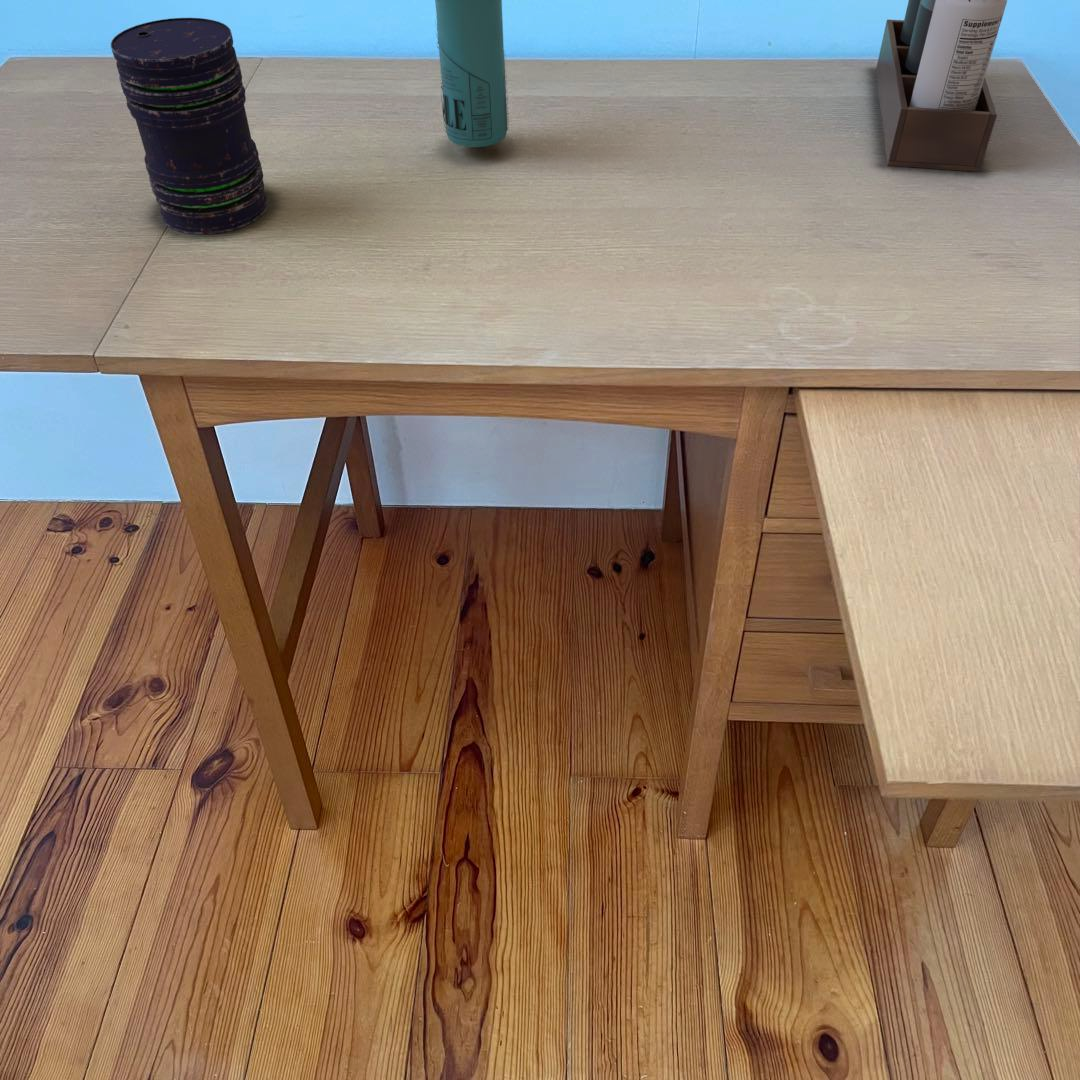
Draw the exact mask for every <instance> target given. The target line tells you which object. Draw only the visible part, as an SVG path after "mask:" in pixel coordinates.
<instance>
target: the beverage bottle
mask: <svg viewBox="0 0 1080 1080" xmlns="http://www.w3.org/2000/svg"><path fill="white" fill-rule="evenodd" d="M434 1H435V2H434V3H435V14H436V17H435V19H436V22H435V27H436V33H435V34H436V38H437V42H436V46H437V48H438V51H439V52H438V54H439V64H440V65H439V67H440V76H441V78H440V79H441V82H440V84H441V86H440V88H441V92H442V94H440V97H441V99H442V103H441V109H442V118H443V123H444V128H443V130H444V131H445V133H446V136H447V138H448V139H449V141H450V142H451V143H453V144H455V145H458V146H462V147H468V148H482V147H488V146H493V145H496V144H498V143H500V142H502V141H503V140H504V139H505V138H506V136H507V132H508V130H509V128H510V127H509V125H508V123H509V122H510V119H509V118H510V117H509V106H508V104H509V102H508V101H509V93H508V92H507V91H508V88H507V86H508V80H507V74H506V73H507V71H508V70H507V69H506V57H507V56H506V54H505V49H504V48H505V45H504V24H503V20H504V19H503V0H434Z"/></svg>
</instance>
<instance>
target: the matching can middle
mask: <svg viewBox="0 0 1080 1080" xmlns="http://www.w3.org/2000/svg"><path fill="white" fill-rule="evenodd" d="M935 1H936V0H921V1H920V5H919V9H918V13H917V17H916V22H915V26H914V30H913V34H912V38H911V43H910V47H909V51H908V55H907V59H906V64H905V69H904V73H903V75H917V74H918V70H919V66H920V62H921V58H922V54H923V50H924V46H925V42H926V38H927V34H928V30H929V25H930V21H931V17H932V13H933V9H934V5H935Z"/></svg>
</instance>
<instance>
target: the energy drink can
mask: <svg viewBox="0 0 1080 1080" xmlns="http://www.w3.org/2000/svg"><path fill="white" fill-rule="evenodd" d="M1007 3H1008V0H936V1H935V5H934V9H933V13H932V17H931V21H930V25H929V30H928V34H927V38H926V42H925V46H924V50H923V54H922V58H921V62H920V66H919V70H918V74H917V78H916V82H915V86H914V90H913V94H912V98H911V102H910V106H909V107H917V108H933V109H949V110H965V111H975V108H976V105H977V102H978V98H979V95H980V91H981V88H982V85H983V81H984V78H985V79H986V74H987V71H988V68H989V64H990V61H991V58H992V55H993V51H994V48H995V44H996V40H997V37H998V34H999V31H1000V27H1001V23H1002V20H1003V17H1004V13H1005V10H1006V7H1007Z"/></svg>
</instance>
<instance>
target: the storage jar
mask: <svg viewBox="0 0 1080 1080" xmlns="http://www.w3.org/2000/svg"><path fill="white" fill-rule="evenodd" d="M233 38H234V37H233V34H232V30H231V28H230V27H229V26H228V25H226V24H225V23H224V22H220V21H218V20H214V19H209V18H201V17H173V18H172V17H171V18H163V19H158V20H152V21H148V22H144V23H139V24H136V25H134V26H131V27H129V28H127V29H125V30H123V31H121V32H119V33H117V34H116V35H115V36H114V37H113V38H112V39H111V42H110V48H111V52H112V56H113V57H114V59H115V61H116V68H117V72H118V75H119V76H118V77H119V78H118V79H119V83H120V86H121V90H122V94H123V95H124V96H125V100H126V107H127V109H128V110H129V113H130V115H131V117H132V118H133V119H134V120H135V123H136V126H137V129H138V132H139V136H140V140H141V143H142V147H143V149H144V153H145V155H144V163H145V169H146V171H147V175H148V181H149V184H150V186H151V190H152V193H153V195H154V196H155V199H156V202H157V204H158V206H159V207H160V209H159V212H160V216H161V220H162V221H163V223H164V224H165V225H166V227H169V228H170V229H172V230H174V231H176V232H180V233H183V234H184V233H185V234H190V235H213V234H215V235H216V234H220V233H221V234H222V233H227V232H231V231H234V230H239V229H241V228H243V227H245V226H248V225H250V224H252V223H254V222H255V221H257V220H258V219H259V218H260V217H262V216H263V215H264V213H265V212H266V211H267V208H268V207H269V202H268V201H269V200H268V197H267V193H266V191H265V182H264V172H263V166H262V162H261V160H260V158H259V155H260V153H259V150H258V148H257V145H256V142H255V141H254V139H253V138H252V135H251V131H250V126H249V121H248V115H247V111H246V107H245V104H246V101H247V98H246V88H245V87H244V84H243V75H242V69H241V65H240V62H239V60H238V57H237V53H236V48H235V47H234V39H233Z"/></svg>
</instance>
